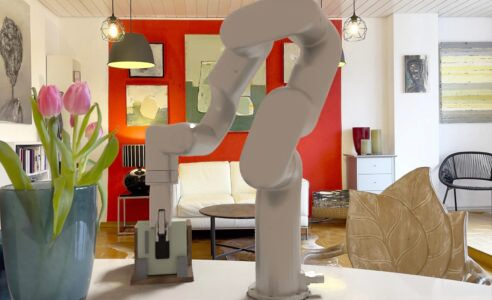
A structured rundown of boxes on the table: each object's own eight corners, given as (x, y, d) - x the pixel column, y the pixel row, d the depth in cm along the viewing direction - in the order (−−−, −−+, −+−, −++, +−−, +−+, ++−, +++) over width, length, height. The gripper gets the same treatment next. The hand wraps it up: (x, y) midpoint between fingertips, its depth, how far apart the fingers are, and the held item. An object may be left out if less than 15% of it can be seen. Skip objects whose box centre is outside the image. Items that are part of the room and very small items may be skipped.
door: (186, 269, 99) (186, 219, 99) (186, 273, 96) (186, 221, 96) (138, 272, 97) (138, 221, 97) (137, 276, 94) (137, 223, 94)
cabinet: (190, 259, 114) (190, 219, 114) (193, 281, 95) (193, 232, 95) (138, 262, 112) (137, 221, 112) (130, 284, 92) (129, 235, 92)
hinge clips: (187, 269, 101) (186, 250, 101) (187, 276, 94) (187, 257, 95) (138, 272, 99) (138, 253, 99) (136, 280, 93) (136, 259, 93)
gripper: (147, 176, 104) (148, 249, 104) (142, 180, 88) (143, 267, 88) (178, 175, 105) (178, 248, 105) (178, 179, 90) (179, 265, 89)
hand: (162, 256), depth 97 cm, fingers closed on door, 2 cm apart
